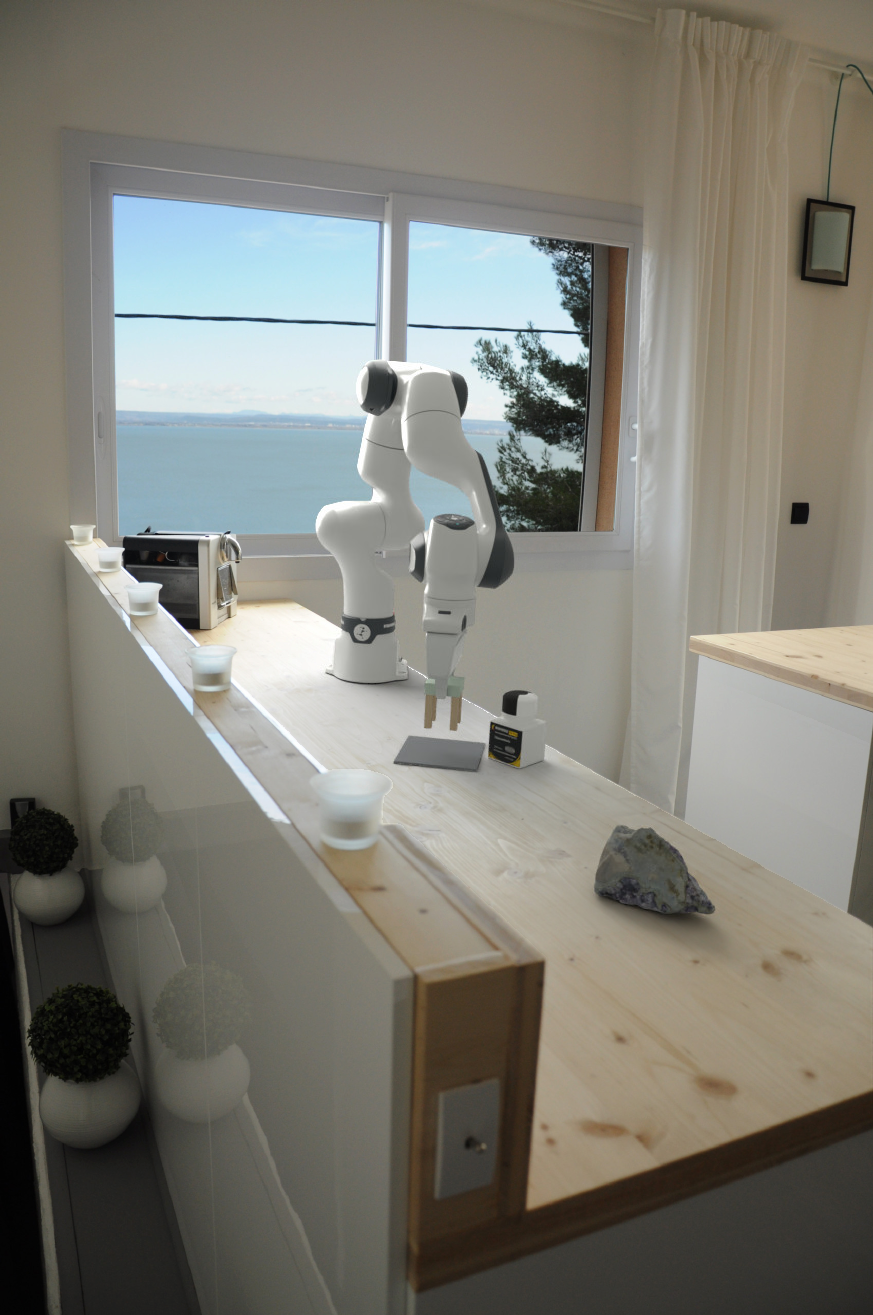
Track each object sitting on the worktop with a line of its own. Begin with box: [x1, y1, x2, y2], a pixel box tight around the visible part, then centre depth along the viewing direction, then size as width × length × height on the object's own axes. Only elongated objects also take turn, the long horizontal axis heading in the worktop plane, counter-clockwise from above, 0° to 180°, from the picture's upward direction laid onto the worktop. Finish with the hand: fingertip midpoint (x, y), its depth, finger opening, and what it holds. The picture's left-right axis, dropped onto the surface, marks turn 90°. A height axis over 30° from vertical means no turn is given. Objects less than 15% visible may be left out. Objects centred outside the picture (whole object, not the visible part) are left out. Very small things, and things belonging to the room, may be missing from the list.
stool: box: [423, 675, 465, 732], centre depth 163 cm, size 6×6×8 cm
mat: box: [393, 735, 486, 772], centre depth 165 cm, size 14×14×1 cm
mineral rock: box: [593, 824, 716, 915], centre depth 114 cm, size 13×11×10 cm
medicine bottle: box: [487, 689, 548, 769], centre depth 163 cm, size 7×7×12 cm
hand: (444, 692), depth 162 cm, fingers closed on stool, 6 cm apart
